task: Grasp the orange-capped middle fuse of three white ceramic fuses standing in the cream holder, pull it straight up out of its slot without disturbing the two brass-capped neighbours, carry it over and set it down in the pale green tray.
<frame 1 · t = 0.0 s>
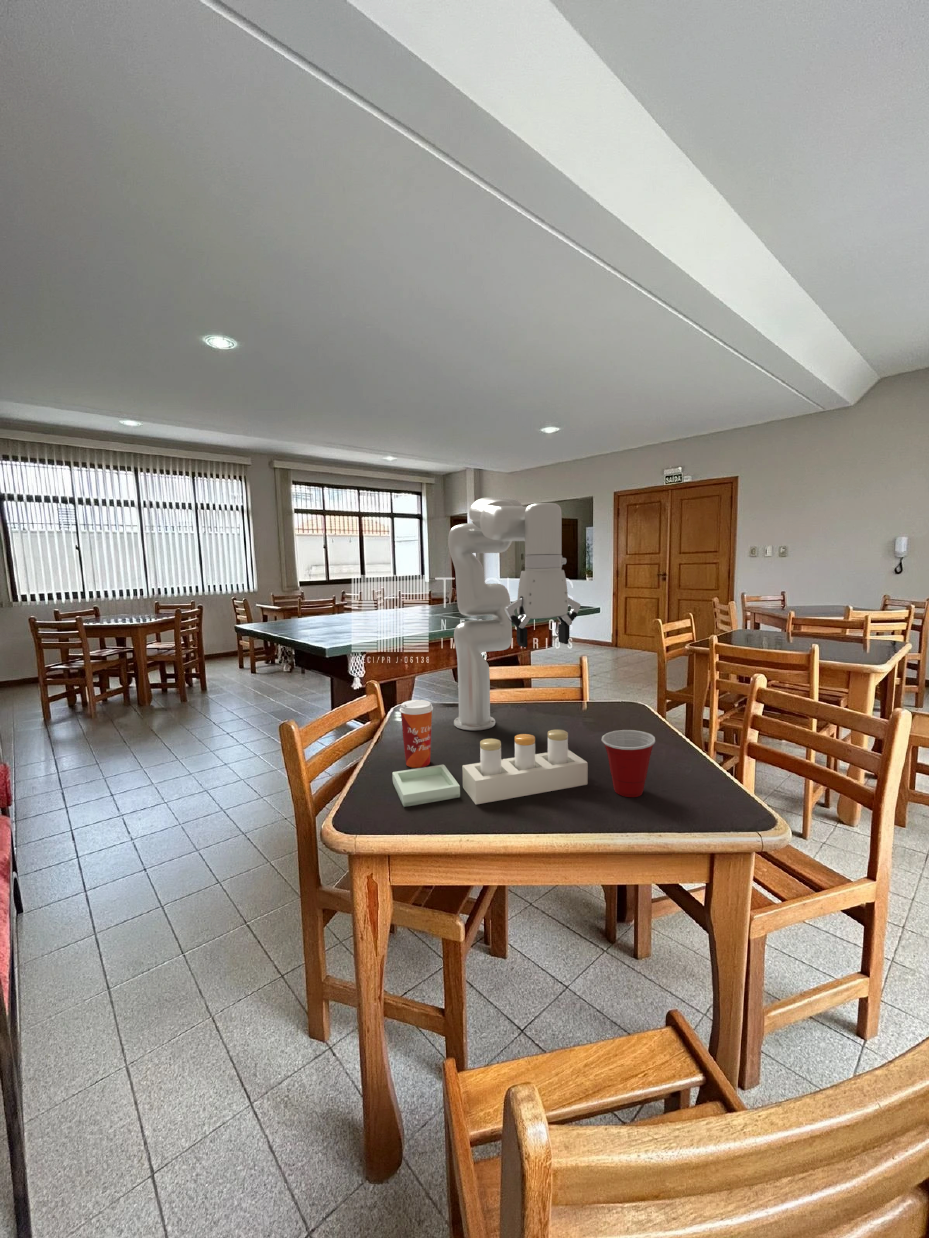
hand: (543, 644, 107), 31 cm above the table, tool pointing down, fingers open, 9 cm apart
coffee cup: (418, 763, 124), on the table
tray: (425, 789, 109), on the table
fuse 3: (557, 780, 112), resting in holder
plastic cup: (627, 792, 106), on the table
holder: (525, 785, 110), on the table
fuse marked: (525, 761, 109), in the holder
fuse 1: (491, 791, 107), resting in holder
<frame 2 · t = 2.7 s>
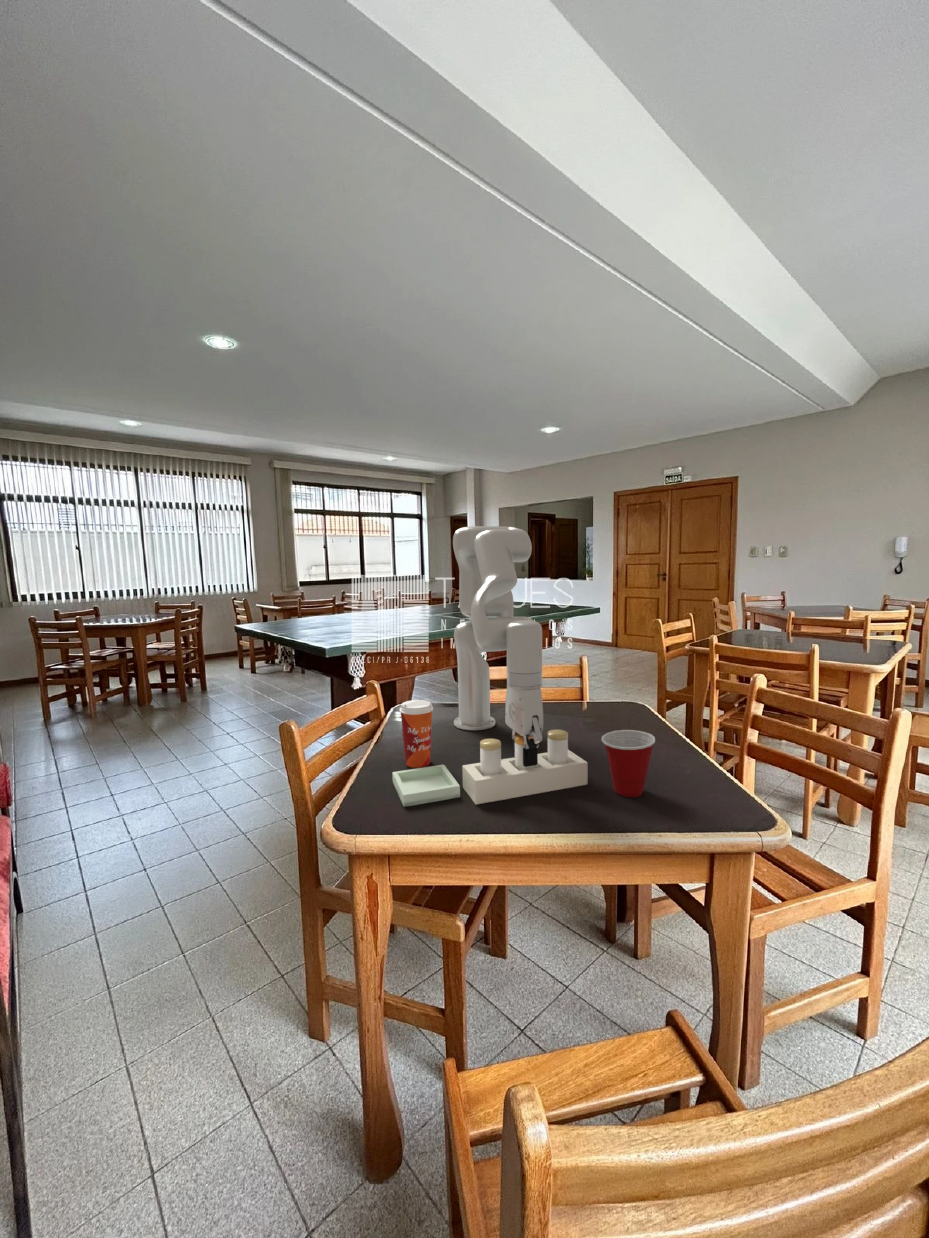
hand: (525, 760, 109), 6 cm above the table, tool pointing down, fingers closed on fuse marked, 4 cm apart
fuse marked: (525, 761, 109), in the holder, touching gripper
everything else where it was.
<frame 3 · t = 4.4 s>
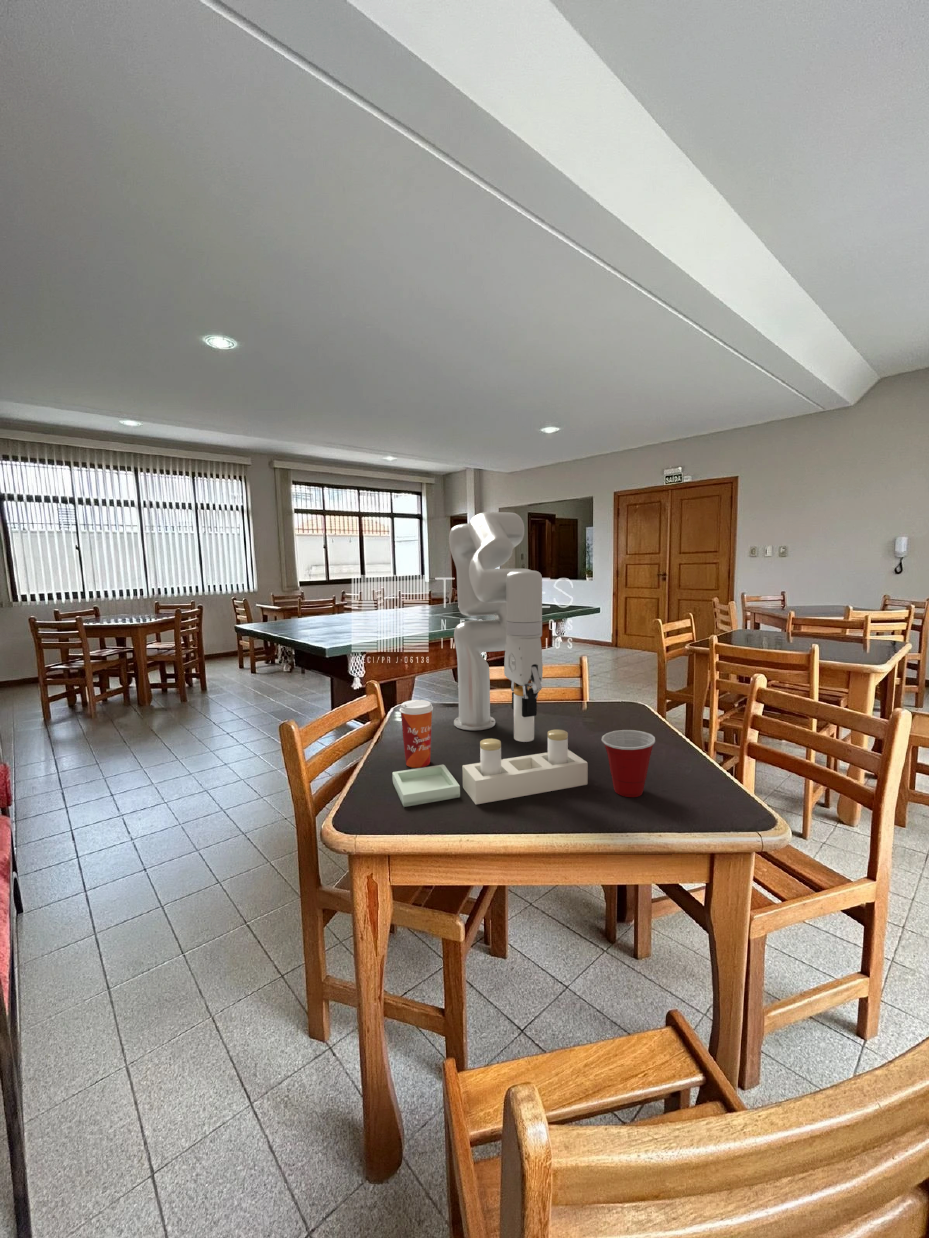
hand: (524, 711, 109), 17 cm above the table, tool pointing down, fingers closed on fuse marked, 4 cm apart
fuse marked: (524, 713, 109), point 16 cm above the table, touching gripper
everything else where it was.
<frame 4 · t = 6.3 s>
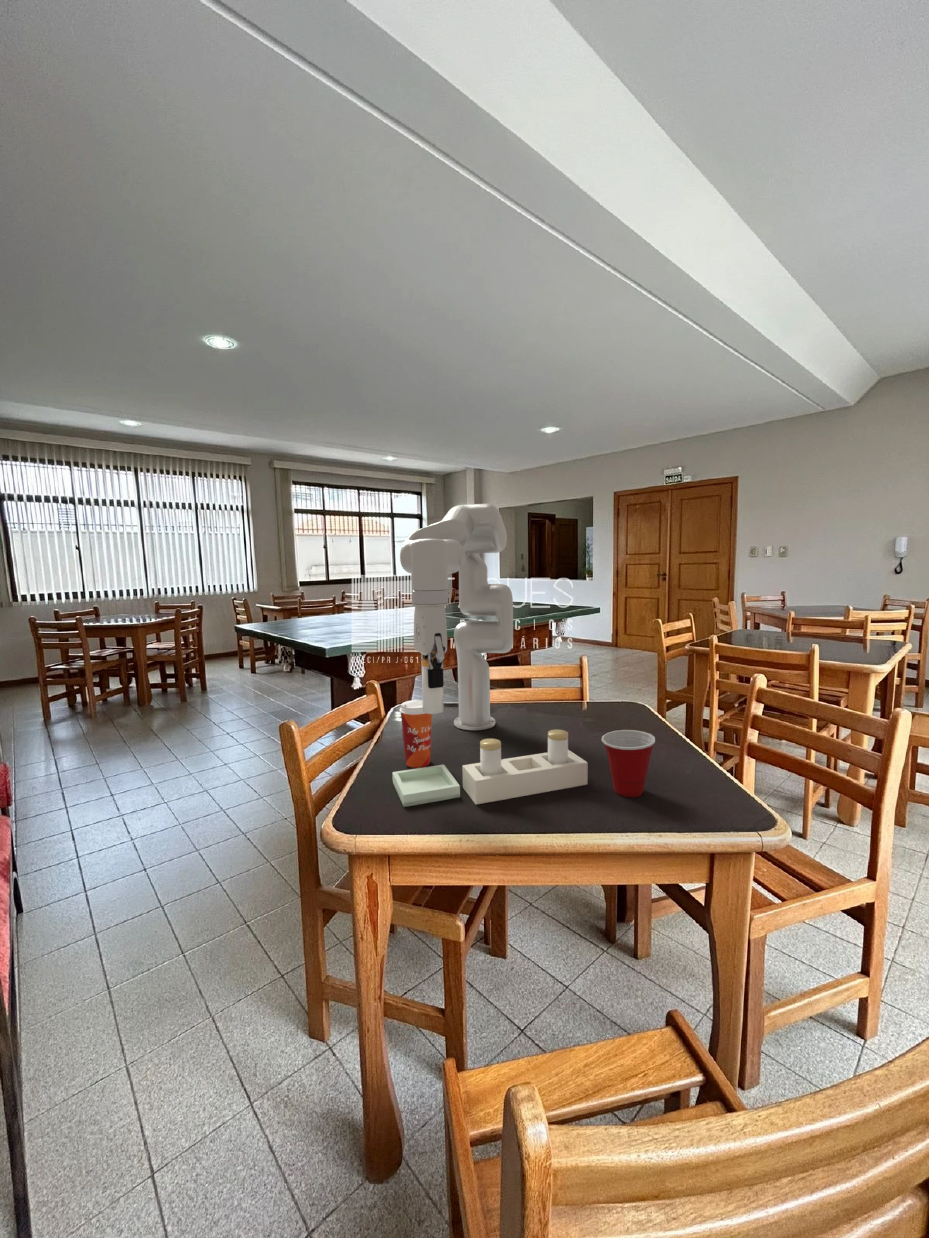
hand: (432, 683, 106), 23 cm above the table, tool pointing down, fingers closed on fuse marked, 4 cm apart
fuse marked: (432, 685, 106), point 23 cm above the table, touching gripper
everything else where it was.
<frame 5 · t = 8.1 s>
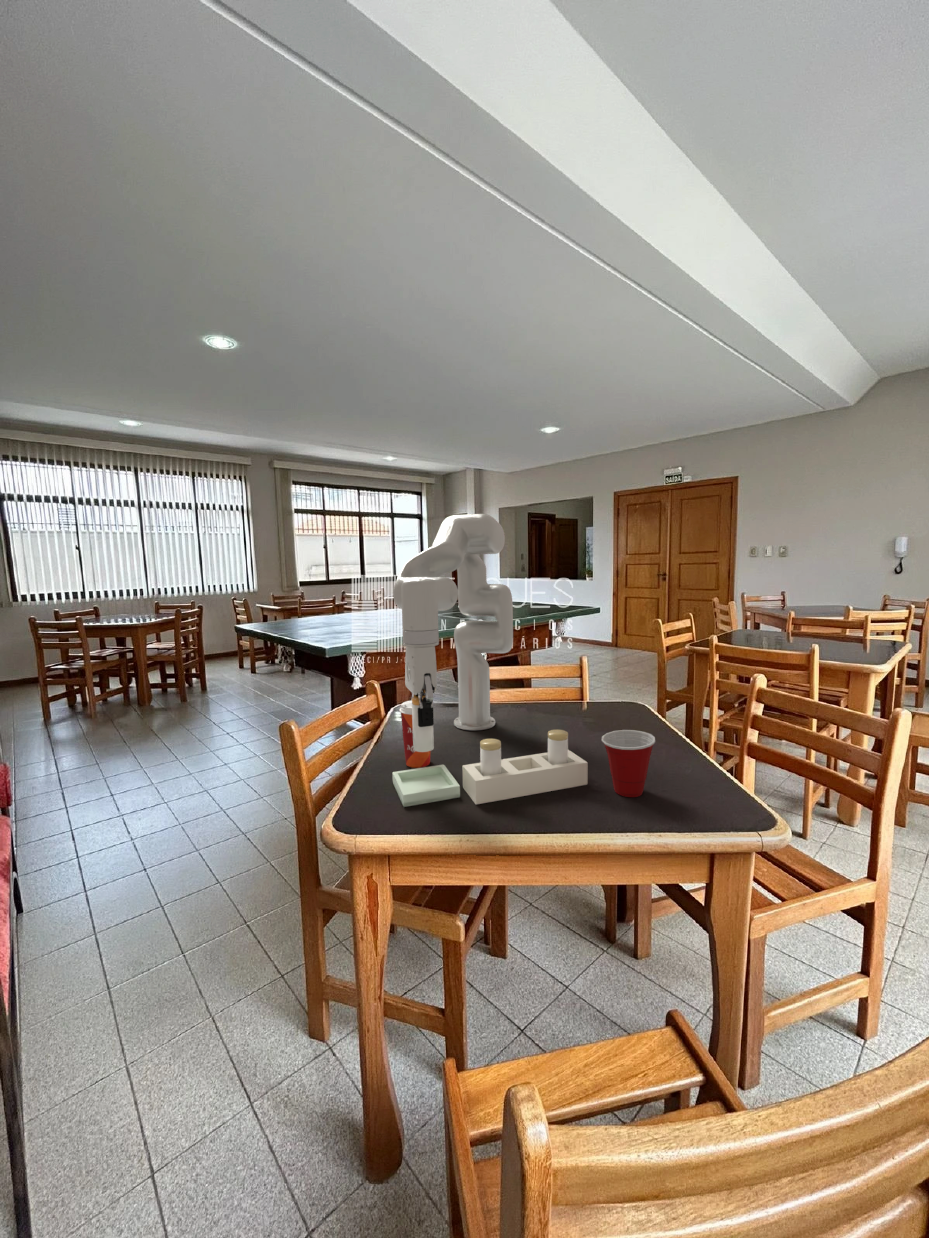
hand: (422, 721, 107), 15 cm above the table, tool pointing down, fingers closed on fuse marked, 4 cm apart
fuse marked: (422, 723, 107), point 15 cm above the table, touching gripper
everything else where it was.
when the fingers open (8 cm above the table, at t = 9.7 s): fuse marked drops 2 cm, resting on tray.
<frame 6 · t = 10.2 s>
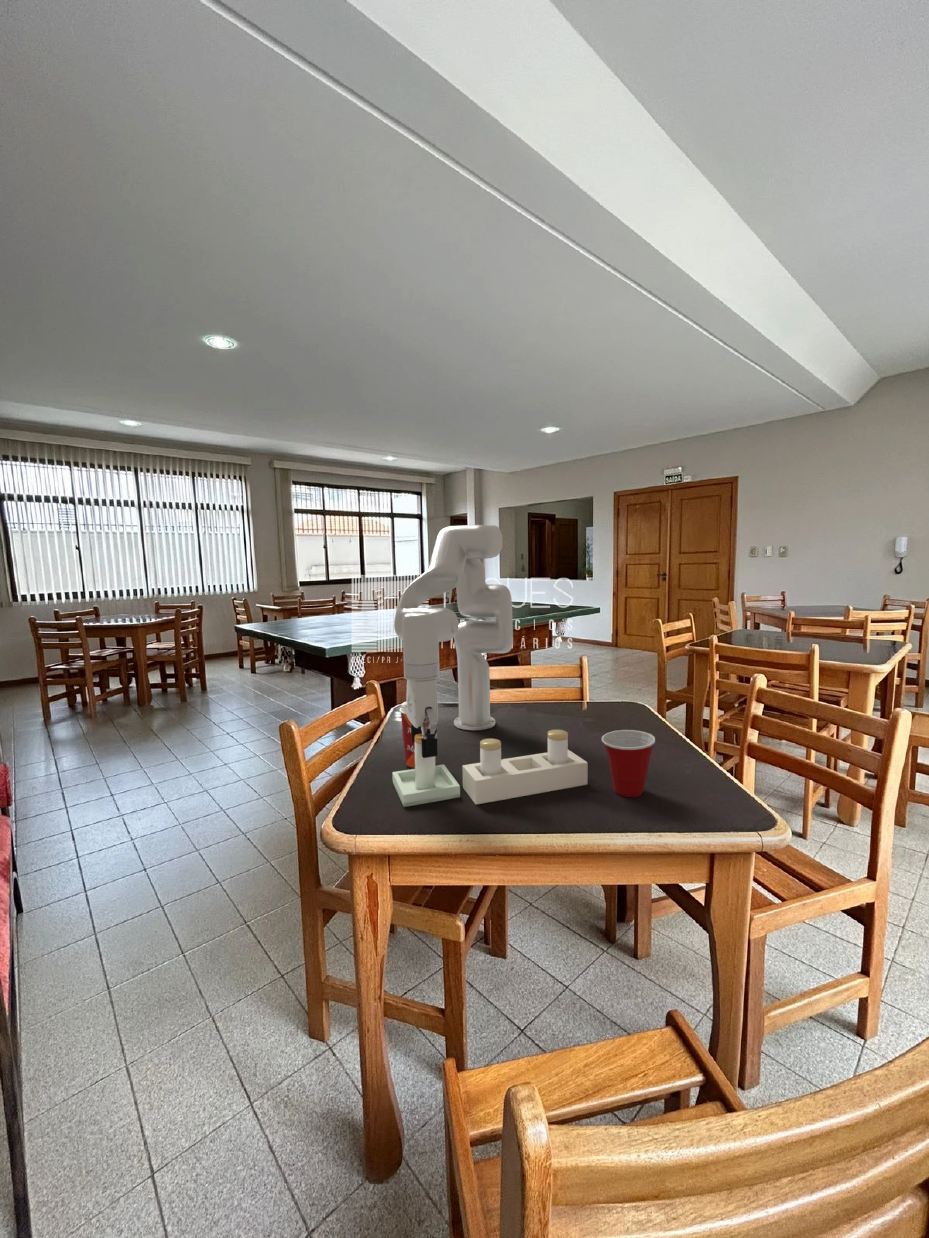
hand: (424, 748, 108), 9 cm above the table, tool pointing down, fingers open, 9 cm apart
fuse marked: (425, 761, 108), in the tray, point 6 cm above the table
everything else where it was.
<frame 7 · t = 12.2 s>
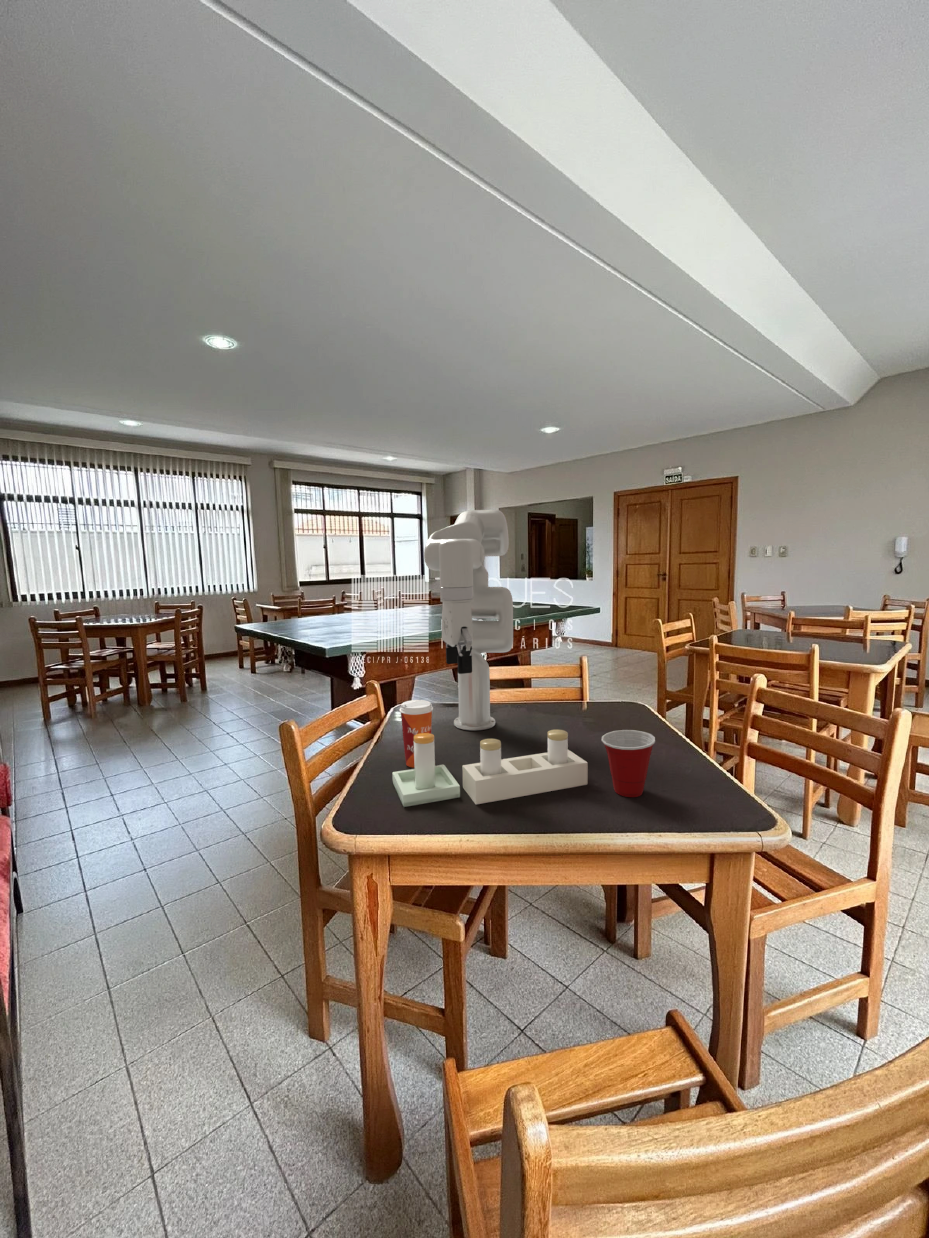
hand: (458, 668, 116), 25 cm above the table, tool pointing down, fingers open, 9 cm apart
nothing on the table moved.
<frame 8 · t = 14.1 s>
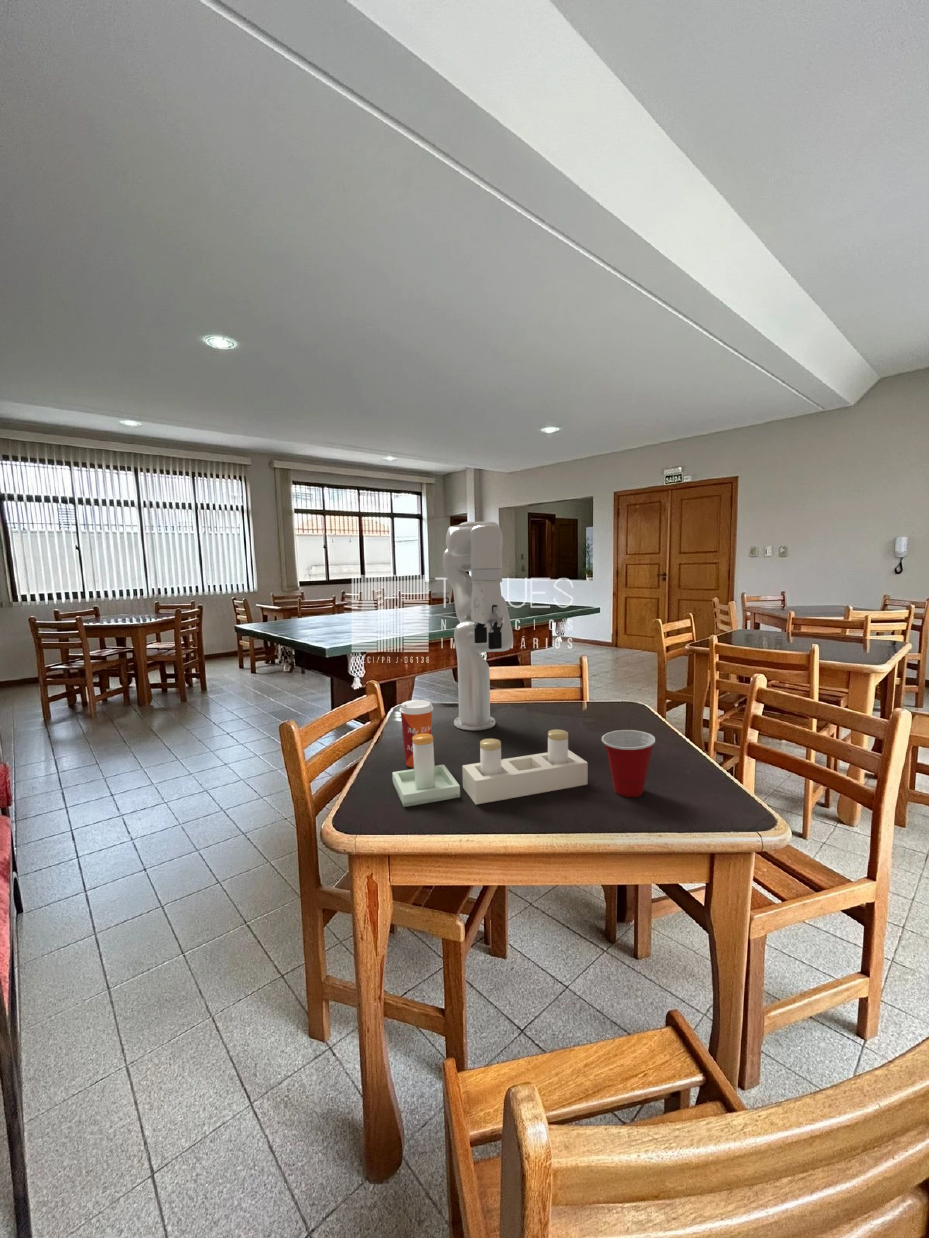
hand: (487, 645, 124), 28 cm above the table, tool pointing down, fingers open, 9 cm apart
nothing on the table moved.
at the end: fuse marked inside the target area on the tray (0.0 cm from its centre), point 6.3 cm above the tray's base; fuse 1 moved 0.0 cm from its start; fuse 3 moved 0.0 cm from its start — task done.
